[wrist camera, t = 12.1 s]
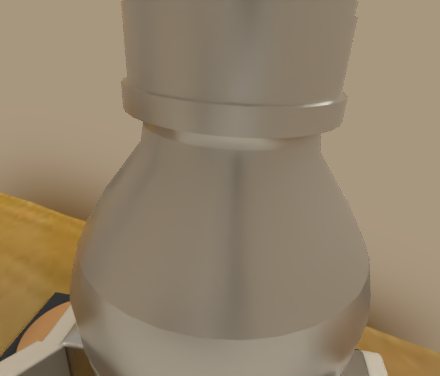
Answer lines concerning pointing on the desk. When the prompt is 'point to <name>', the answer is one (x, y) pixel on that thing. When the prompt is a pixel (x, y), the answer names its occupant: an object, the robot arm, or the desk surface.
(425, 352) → the desk surface
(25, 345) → the copper coaster
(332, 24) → the plastic bottle
